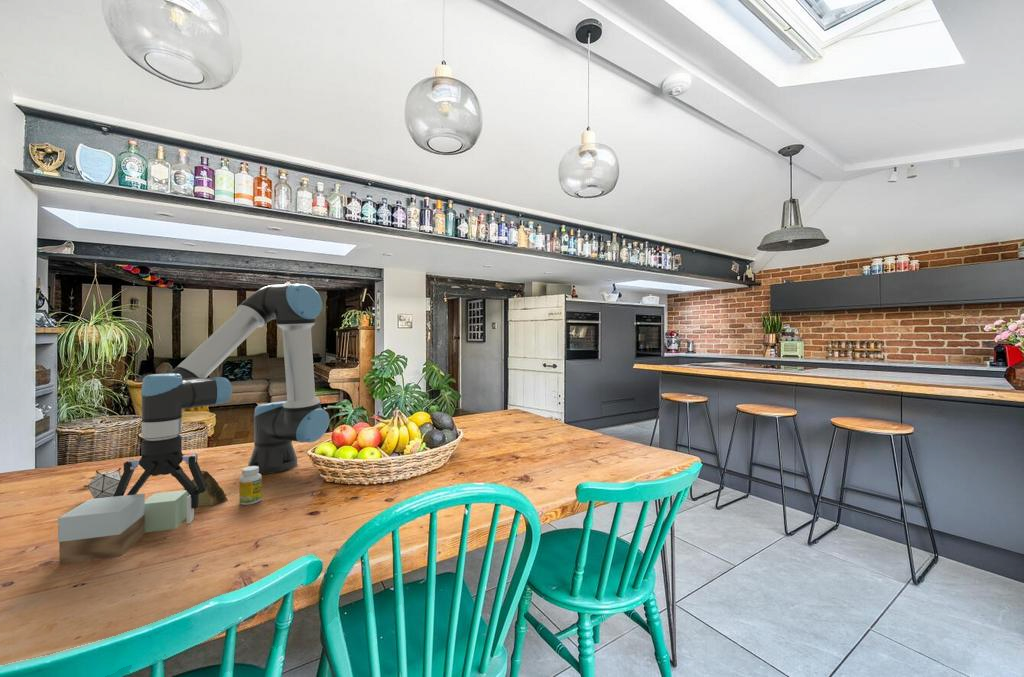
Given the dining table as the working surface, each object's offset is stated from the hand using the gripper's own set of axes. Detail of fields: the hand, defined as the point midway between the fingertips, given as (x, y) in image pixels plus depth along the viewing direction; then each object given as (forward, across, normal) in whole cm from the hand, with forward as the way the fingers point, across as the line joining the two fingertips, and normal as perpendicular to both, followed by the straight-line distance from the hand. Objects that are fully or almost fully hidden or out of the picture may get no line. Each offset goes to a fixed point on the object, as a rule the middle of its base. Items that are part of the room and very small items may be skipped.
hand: (161, 525), depth 99 cm
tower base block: (+1, +7, +8) cm, 11 cm away
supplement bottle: (0, -17, -9) cm, 19 cm away
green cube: (0, 0, -1) cm, 1 cm away
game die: (0, +21, -27) cm, 34 cm away
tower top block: (-4, +8, +8) cm, 12 cm away
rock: (0, -5, -13) cm, 14 cm away
